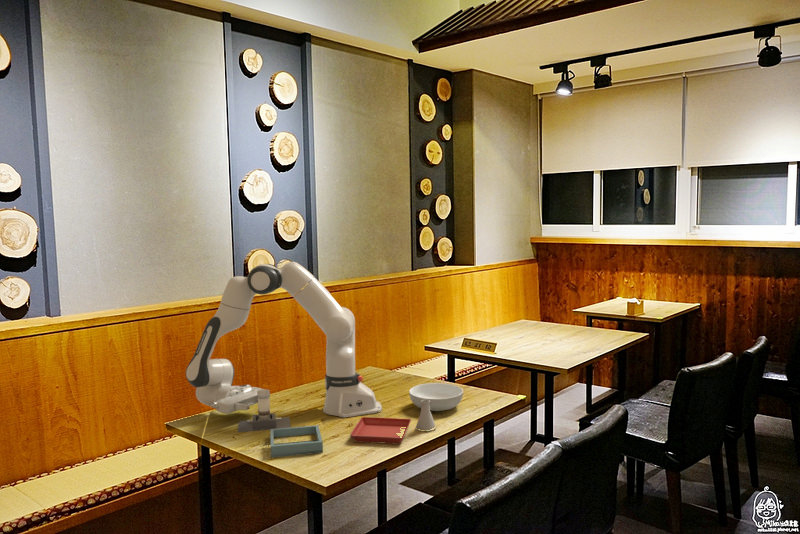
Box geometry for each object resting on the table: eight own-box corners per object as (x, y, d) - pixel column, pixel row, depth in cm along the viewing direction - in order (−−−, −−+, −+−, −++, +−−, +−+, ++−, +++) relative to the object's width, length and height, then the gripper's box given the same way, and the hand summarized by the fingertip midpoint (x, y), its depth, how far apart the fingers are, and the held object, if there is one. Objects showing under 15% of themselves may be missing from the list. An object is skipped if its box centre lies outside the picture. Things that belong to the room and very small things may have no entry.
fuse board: (289, 419, 227) (289, 410, 227) (290, 430, 216) (290, 420, 215) (239, 423, 223) (238, 414, 223) (237, 435, 212) (237, 425, 211)
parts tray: (318, 435, 211) (318, 425, 210) (322, 452, 195) (322, 441, 195) (270, 439, 207) (270, 429, 207) (271, 457, 192) (270, 446, 191)
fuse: (270, 421, 222) (269, 389, 221) (270, 425, 218) (269, 392, 217) (258, 422, 221) (257, 389, 220) (257, 426, 217) (256, 393, 216)
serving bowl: (398, 406, 241) (398, 389, 240) (439, 396, 254) (438, 380, 253) (433, 420, 225) (433, 401, 224) (474, 408, 237) (474, 391, 237)
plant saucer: (403, 447, 200) (403, 437, 200) (349, 444, 203) (349, 434, 203) (411, 428, 218) (411, 418, 217) (361, 425, 221) (361, 416, 220)
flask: (429, 433, 211) (429, 405, 210) (411, 430, 214) (411, 402, 214) (439, 427, 217) (439, 399, 216) (422, 424, 221) (421, 396, 220)
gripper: (208, 397, 219) (235, 403, 212) (250, 383, 236) (277, 388, 229) (208, 414, 220) (235, 421, 212) (251, 399, 237) (278, 404, 229)
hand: (257, 403), depth 221 cm, fingers open, 8 cm apart
